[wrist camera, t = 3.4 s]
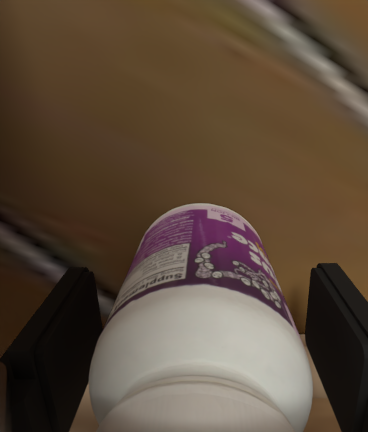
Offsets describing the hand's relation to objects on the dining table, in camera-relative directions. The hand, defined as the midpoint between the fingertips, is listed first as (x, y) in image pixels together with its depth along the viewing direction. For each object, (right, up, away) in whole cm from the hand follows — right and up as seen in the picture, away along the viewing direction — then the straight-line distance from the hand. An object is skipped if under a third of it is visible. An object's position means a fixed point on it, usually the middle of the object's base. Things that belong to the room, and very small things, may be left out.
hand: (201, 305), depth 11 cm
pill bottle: (0, +1, +3) cm, 4 cm away
